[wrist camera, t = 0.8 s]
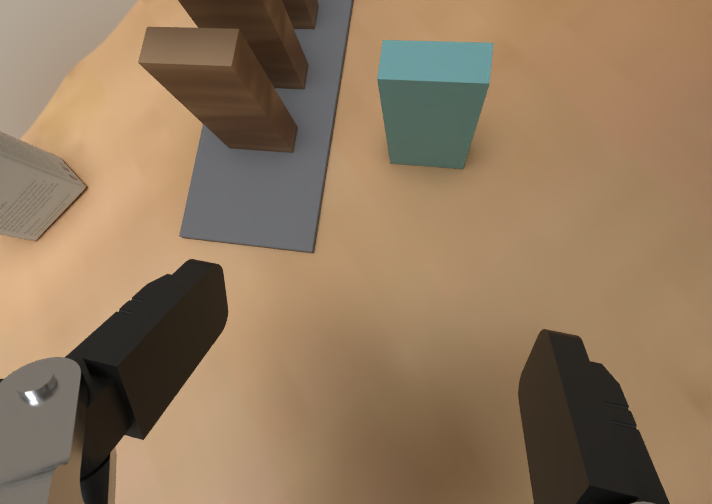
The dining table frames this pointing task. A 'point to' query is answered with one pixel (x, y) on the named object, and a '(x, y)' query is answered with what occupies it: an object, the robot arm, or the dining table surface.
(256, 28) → the domino
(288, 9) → the domino
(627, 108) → the dining table surface
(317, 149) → the domino mat
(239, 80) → the domino
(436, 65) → the domino
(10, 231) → the skincare box
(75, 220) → the dining table surface
